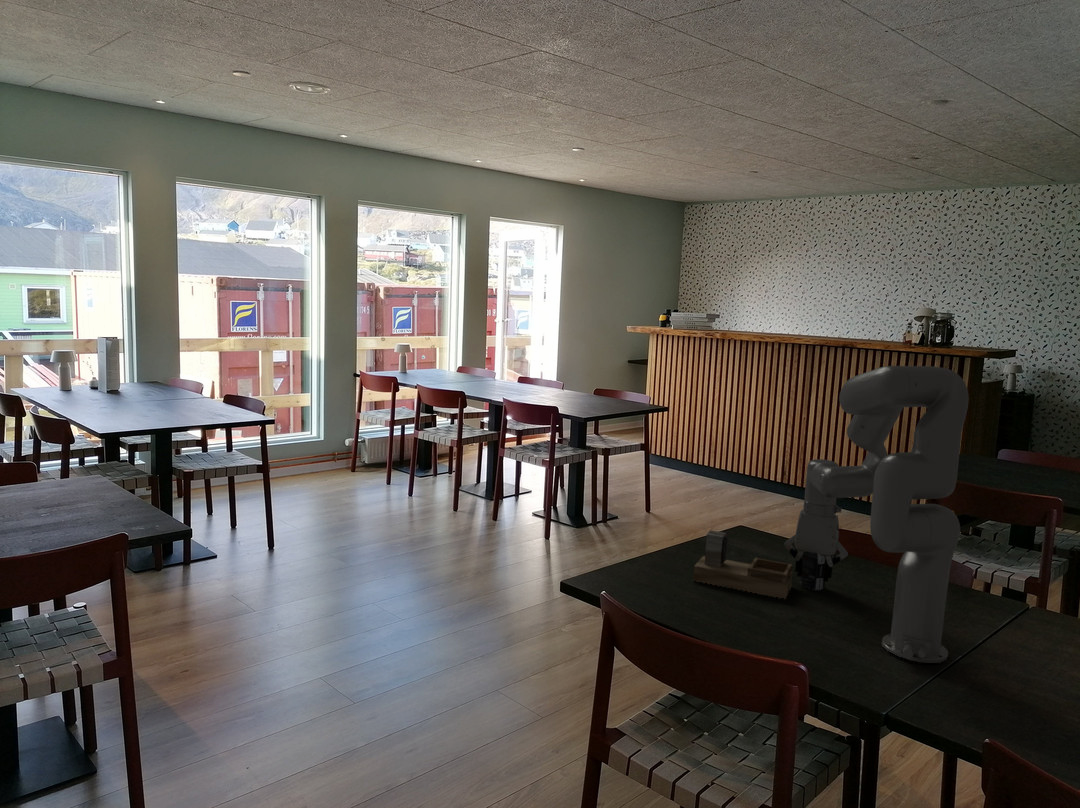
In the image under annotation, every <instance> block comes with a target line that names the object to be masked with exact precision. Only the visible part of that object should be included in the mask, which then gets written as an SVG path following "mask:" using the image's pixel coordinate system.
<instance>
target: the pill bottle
mask: <svg viewBox="0 0 1080 808" xmlns="http://www.w3.org/2000/svg"><path fill="white" fill-rule="evenodd" d="M801 557H802V567H801V576H800V580H799V581H800V582H799V584H800V586H801V587H802V586H803V587H802V588H804V587H805V588H804V589H806V588H808V589H807V590H810V589H812V590H811V591H821V589H822V590H824V589H825V587H826V583H825V581H824V580H825V569H826V565H827V560H826V556H825V555H820V554H817V553H809V552H804V553H803V555H802V556H801Z"/></svg>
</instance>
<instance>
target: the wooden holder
mask: <svg viewBox="0 0 1080 808" xmlns="http://www.w3.org/2000/svg"><path fill="white" fill-rule="evenodd" d="M705 541H706V542H705V553H704V554H705V555H703V556H702V557H700V559H699V560H698V561H697V562H696V563H695V565H694V566H693V575H692V581H693V582H695V581H696V583H700V582H702V583H701V584H705V583H707V585H710V584H712V585H711V586H715V585H717V586H716V587H720V586H722V587H721V588H725V587H726V589H730V588H733V589H732V590H735V589H737V591H740V590H742V591H741V592H745V591H747V592H746V593H750V592H752V593H751V594H755V593H757V595H761V596H762V595H763V596H766V595H767V597H771V596H772V598H776V597H778V598H777V599H781V598H784V599H783V600H787V598H788V596H789V594H790V592H791V590H792V588H791V587H793V577H794V572H793V571H792V569H793V564H792V563H787V562H781V561H776V560H770V559H765V558H759V557H754V559H753V560H752V561H751V563H746V562H740V561H736V560H731V559H727V551H728V537H727V532H722V531H717V530H711V529H710V530H709V531H708V533H706V540H705ZM790 589H791V590H790ZM789 591H790V592H789ZM788 593H789V594H788ZM787 595H788V596H787ZM786 597H787V598H786Z"/></svg>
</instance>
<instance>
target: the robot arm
mask: <svg viewBox="0 0 1080 808" xmlns="http://www.w3.org/2000/svg"><path fill="white" fill-rule="evenodd" d="M969 398H970V397H969V391H968V388H967V385H966V382H965V381H964V379H963V378H962V376H960V375H959V374H958V373H957V372H955V371H954V370H951V369H948V368H946V367H939V366H930V365H885V366H881V367H877V368H875V369H872V370H869V371H867V372H863V373H860V374H857V375H855V376H852V377H850V378H848V379H847V381H845V383H844V384H843V385H842V387H841V389H840V392H839V398H838V401H839V404H840V405H839V406H840V407H841V409H842V410H843V412H845V413H846V414H848V415H852V418H851V420H850V422H849V423H848V426H847V428H846V434H847V437H848V439H849V440H850V441H851V443H853V444H854V445H855V446H857V447H859V448H860V449H863V450H864V451H866V452H867V454H866V456H865V458H864V460H863V461H862V463H861V465H841V466H840V465H838V463H837V462H835V461H833V460H829V459H820V458H815V459H811V460H810V461H808V462H807V467H806V478H805V487H804V488H805V489H804V500H803V509H802V510H800V511H799V515H798V519H797V524H796V528H795V529H796V530H795V534H794V535H793V536H791V537H790V538H789V539H787V540H785V542H784V544H783V546H784V547H785V548H786V550H787V551H788V552H789V553H790V555H791V556H792V557H793V558H794V560H795V568H794V570H795V571H794V572H795V573H797V574H796V576H797V577H801V567H802V557H803V553H804V552H809V553H817V554H820V555H825V556H826V560H827V565H826V569H825V580H824V581H825V582H826V583H828V582H829V579H832V575H833V566H834V565H836V564H838V563H839V562H840V561H842V560H844V559H845V558H847V557H848V555H849V554H848V553H849V552H848V551H847V550H846V549H845V547H844V546H843V545H842V544H841V542H840V541H839V535H840V529H839V528H840V526H839V523H840V522H839V516H838V514H839V513H840V514H841V513H842V509H843V508H842V507H839V506H838V505H837V499H845V498H865V497H869V496H872V497H871V498H872V499H871V508H870V526H869V527H870V534H871V538H872V540H873V543H874V544H875V546H876V547H877V548H879V549H880V550H881V551H883V552H886V553H891V554H892V553H894V554H895V553H896V554H897V553H903V554H902V556H901V558H900V561H899V563H898V567H897V575H896V580H895V581H896V583H895V592H894V601H893V602H894V603H893V609H892V610H893V611H892V619H891V620H892V621H891V626H890V627H891V628H890V629H891V630H890V633H889V634H886V635H884V636H883V637H882V639H881V646H882V648H883V647H884V648H885V649H886V650H887V651H886V650H885V649H884V648H883V649H884V650H885V651H886V652H888V651H889V652H891V653H893V654H895V655H897V656H899V657H903V658H906V659H910V660H914V661H920V662H939V661H943V660H945V659H946V658H947V657H948V658H949V651H948V650H947V648H946V647H945V646H944V645H942V637H943V630H944V628H943V627H944V622H945V621H944V620H945V611H946V604H947V594H948V589H949V588H948V587H949V579H950V574H951V573H950V571H951V565H952V561H953V557H954V555H955V551H956V548H957V546H958V542H959V539H960V535H961V524H960V521H959V518H958V517H957V515H956V513H955V512H954V511H953V510H952V509H950V508H948V507H946V506H944V505H941V504H936V503H913V504H912V501H914V500H915V501H916V500H934V499H935V500H936V499H943V498H947V497H950V495H952V494H953V492H954V491H955V489H956V485H957V481H958V471H959V461H960V451H961V439H962V433H963V429H964V425H965V424H964V423H965V421H966V417H967V413H968V408H969V402H970V401H969V400H970V399H969ZM904 408H926V409H927V411H925V412H924V414H923V415H922V416H921V418H920V419H919V421H918V422H917V424H916V426H915V428H914V433H913V444H912V449H911V451H909V452H905V451H904V452H894V453H890V454H888V451H887V448H886V447H885V441H886V440H887V438H888V436H889V435H890V433H891V431H892V430H893V428H894V426H895V424H896V422H897V420H898V418H899V417H900V415H901V413H902V411H903V409H904ZM793 544H794V546H793ZM837 551H838V552H839V554H837V555H836V553H837ZM834 555H835V556H834ZM889 652H888V653H889ZM899 657H898V658H899Z"/></svg>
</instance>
